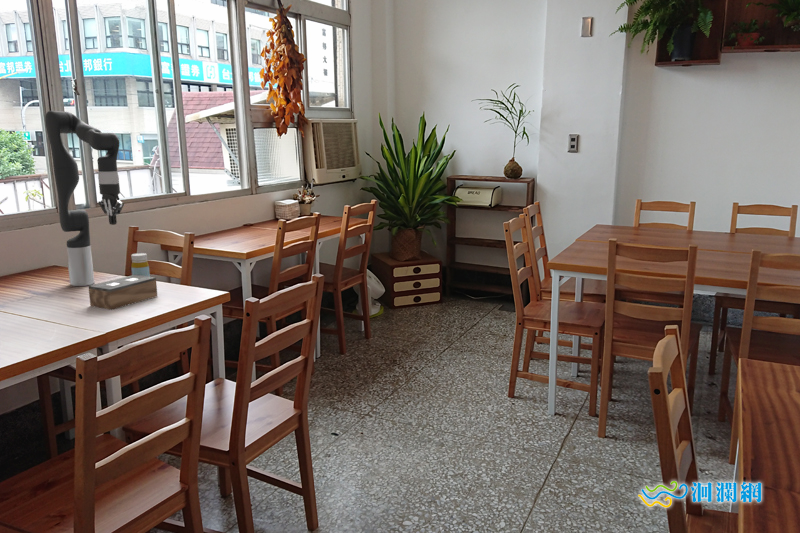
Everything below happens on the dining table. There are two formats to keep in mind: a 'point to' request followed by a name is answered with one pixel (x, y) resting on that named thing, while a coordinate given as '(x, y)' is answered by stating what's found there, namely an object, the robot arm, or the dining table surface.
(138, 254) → the bottle
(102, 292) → the walnut block
